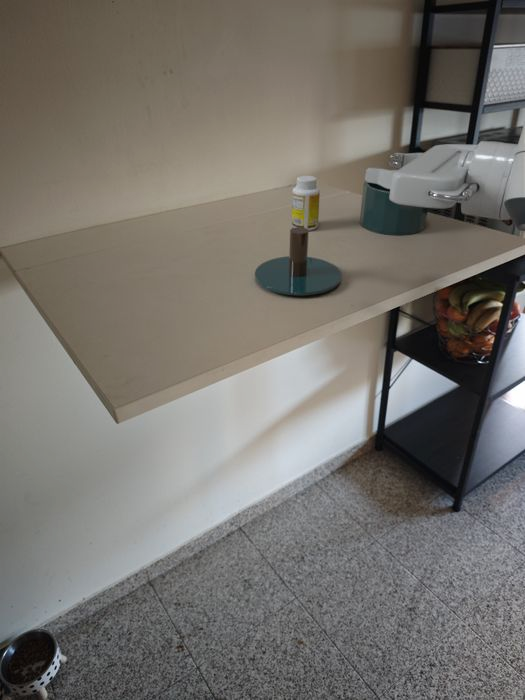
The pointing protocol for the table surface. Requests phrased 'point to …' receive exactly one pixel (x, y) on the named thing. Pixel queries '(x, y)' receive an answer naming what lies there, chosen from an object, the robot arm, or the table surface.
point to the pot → (389, 213)
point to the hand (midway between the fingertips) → (379, 166)
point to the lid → (298, 270)
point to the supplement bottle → (305, 203)
